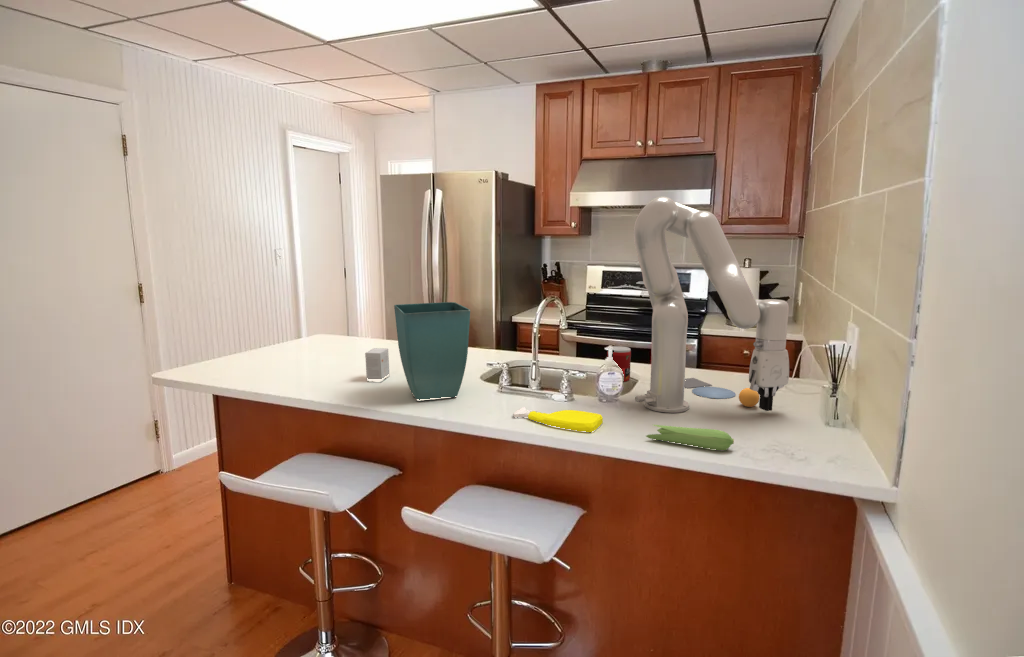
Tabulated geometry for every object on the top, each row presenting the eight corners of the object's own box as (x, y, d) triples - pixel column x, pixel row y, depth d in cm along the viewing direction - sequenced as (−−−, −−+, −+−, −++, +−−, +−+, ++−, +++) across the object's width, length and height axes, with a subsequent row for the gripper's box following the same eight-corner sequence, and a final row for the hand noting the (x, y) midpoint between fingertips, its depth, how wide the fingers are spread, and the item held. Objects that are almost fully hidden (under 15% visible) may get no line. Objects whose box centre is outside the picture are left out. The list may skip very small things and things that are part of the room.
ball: (733, 388, 163) (736, 407, 162) (745, 389, 157) (747, 408, 157) (749, 386, 164) (752, 405, 164) (762, 387, 159) (764, 406, 158)
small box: (375, 376, 199) (373, 347, 197) (390, 376, 198) (388, 348, 197) (366, 382, 191) (364, 352, 190) (381, 382, 191) (380, 352, 189)
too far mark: (686, 388, 180) (686, 388, 180) (668, 380, 189) (668, 380, 189) (712, 385, 183) (712, 385, 183) (693, 378, 192) (693, 377, 192)
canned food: (630, 382, 188) (630, 351, 186) (606, 381, 189) (606, 350, 187) (629, 377, 195) (630, 346, 193) (606, 376, 197) (607, 345, 195)
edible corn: (732, 438, 125) (734, 427, 129) (644, 428, 134) (648, 417, 138) (732, 457, 127) (734, 445, 131) (645, 445, 136) (649, 434, 140)
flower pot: (473, 400, 169) (471, 309, 164) (407, 408, 163) (403, 312, 158) (456, 384, 188) (454, 301, 183) (397, 390, 181) (393, 304, 176)
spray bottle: (591, 436, 140) (506, 423, 151) (605, 423, 149) (524, 411, 161) (591, 425, 139) (506, 412, 151) (605, 413, 149) (524, 402, 160)
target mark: (709, 400, 167) (709, 400, 167) (683, 389, 179) (683, 388, 179) (744, 396, 171) (744, 395, 171) (717, 385, 183) (717, 385, 183)
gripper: (758, 349, 145) (753, 416, 148) (803, 345, 150) (797, 410, 153) (738, 344, 152) (733, 408, 155) (781, 340, 157) (776, 402, 160)
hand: (765, 409), depth 154 cm, fingers closed
